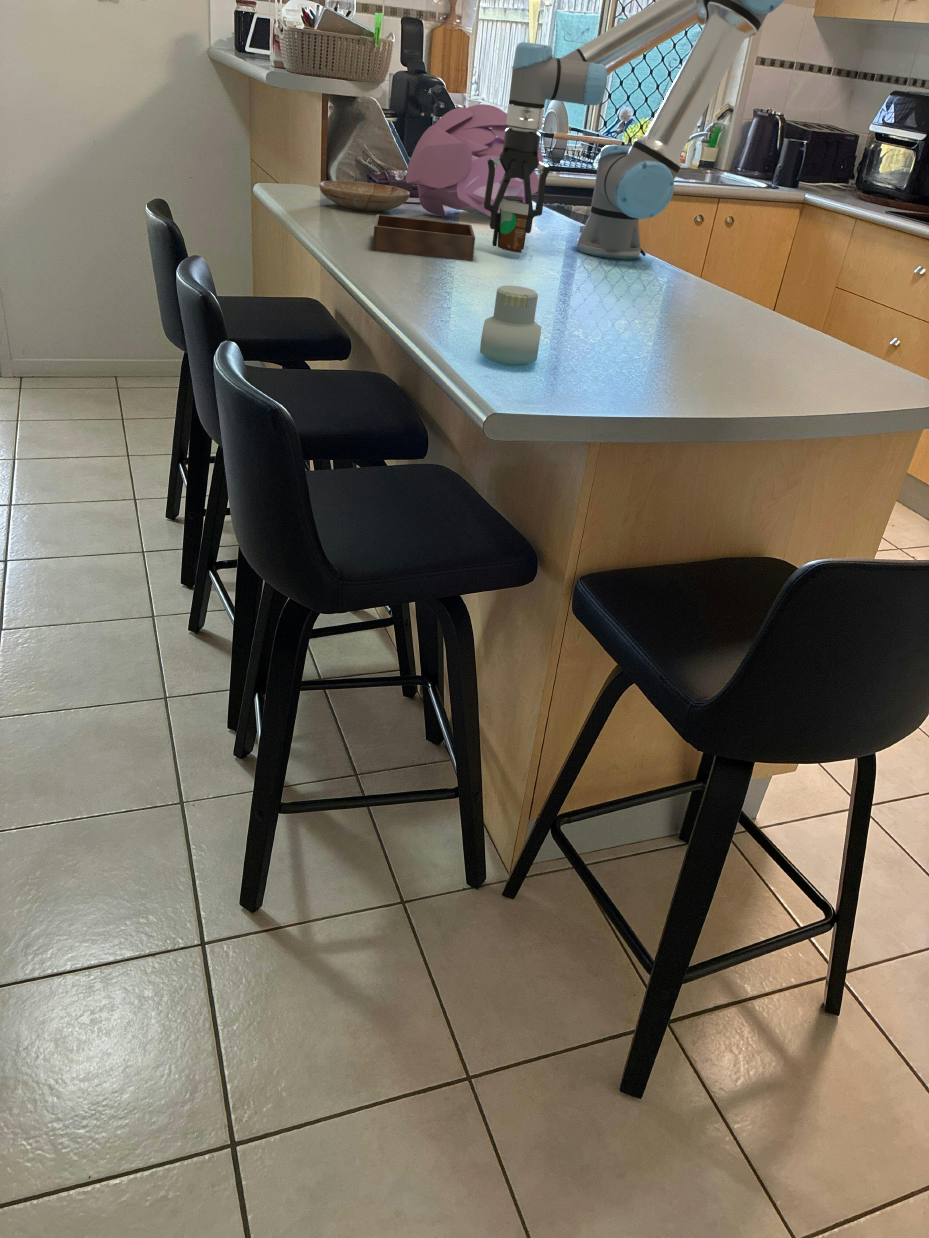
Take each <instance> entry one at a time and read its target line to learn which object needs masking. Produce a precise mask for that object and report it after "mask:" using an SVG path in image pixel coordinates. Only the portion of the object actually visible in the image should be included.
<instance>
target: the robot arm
mask: <svg viewBox="0 0 929 1238" xmlns="http://www.w3.org/2000/svg"><path fill="white" fill-rule="evenodd" d="M783 2H785V0H656V1H655V2H653V3H651V4H650V5H648V6H646V7H644V8H643V9H641V10H639V11H638V12H636V13H635V14H633V15H632V16H630V17H628V18H626V19H624V20H622V21H621V22H620V23H618V24H616V25H614V26H612V27H611V28H609V29H608V30H606V31H604V32H603V33H601V34H599V35H597V36H596V37H594V38H593V39H591V40H589V41H588V42H585V43H584V44H583V45H581V46H579V47H577V48H576V49H575V50H572V51H571V52H569V53H568V54H565V55H564V56H562V57H555V56H554V54H553V47H552V46H551V45H547V44H540V43H535V42H526V41H522V42H519V43H518V44H517V45H516V47H515V52H514V58H513V63H512V66H511V70H512V71H511V82H510V89H509V98H508V99H509V100H508V105H507V112H506V114H507V119H506V125H507V126H508V129H506V130H505V136H504V144H503V151H502V153H501V155H500V157H498V158H493V159H491V158H489V159H488V160H487V163H488V169H489V172H488V179H487V186H486V192H485V199H484V208H485V209H486V210H488V211H490V212H491V217H490V218H489V219H490V220H489V229H490V230H493V236H492V243H491V244H492V247H497V248H498V231H499V223H500V213H497V212H498V209H499V205H500V202H502V198H503V197H504V194H505V191H506V189H507V186H508V184H509V182H510V180H511V178H519V179H523V183H524V194H525V201H526V204H529V209H528V215H527V221H526V227H525V233H524V240H523V246H522V251H524V249H525V244H526V234H531V232H532V227H533V221H534V218H535V217H538V216H539V217H541V216H542V215H543V211H544V210H543V209H544V202H545V191H546V183H547V177H548V176H549V173H550V171H551V168H550V166H549V165H548V164H542V163H540V162H539V159H538V150H539V146H540V141H541V133H540V132H539V131H541V130H542V126H543V118H544V111H545V105H546V100H549V101H558V102H563V103H568V104H569V103H570V104H578V105H583V106H598V105H600V104H601V103H602V101H603V99H604V97H605V93H606V90H607V85H608V75H609V74H611V73H613V72H615V71H616V70H618V69H621V68H622V67H623V66H625V65H626V64H629V63H630V62H631V61H634V60H636V59H638V57H640V56H642V55H644V54H646V53H647V52H649V51H650V50H653V49H654V48H656V47H658V46H659V45H661V44H663V43H664V42H667V41H668V40H669V39H671V38H673V37H676V36H677V35H678V34H680V33H682V32H684V31H685V30H687V29H689V28H690V27H692V26H693V25H695V24H696V25H698V26H703V27H702V29H701V31H700V33H699V35H698V37H697V39H696V40H695V42H694V45H693V46H692V48H691V49H690V52H689V53H688V56H687V58H686V59H685V61H684V63H683V65H682V66H681V68H680V70H679V72H678V73H677V76H676V78H675V79H674V81H673V83H672V85H671V87H670V88H669V90H668V92H667V93H666V96H665V98H664V100H663V102H662V104H661V105H660V107H659V109H658V111H657V113H656V114H655V117H654V118H653V121H652V122H651V124H650V125H649V128H648V130H647V132H646V133H645V134H644V135H642V136H640V137H637V138H635V139H634V141H633V142H632V145H615V144H612V145H611V144H609V145H604V147H602V148H601V150H600V154H599V158H598V160H597V170H596V175H595V181H594V187H593V188H594V189H593V194H592V199H591V200H592V201H591V206H590V211H589V216H588V218H587V220H586V222H585V223H584V224H585V225H580V226H579V233H580V235H579V237H578V239H577V243H576V250H577V251H579V252H581V253H584V254H586V255H590V256H595V257H599V258H604V259H611V260H612V259H613V260H624V261H625V260H627V261H629V260H632V261H633V260H637V259H640V255H642V256H643V257H645V256H646V255H647V253H646V252H645V251H644V250H643V249H642V247H641V237H640V228H639V220H647V219H651V218H653V217H656V216H658V215H659V214H661V213H662V212H663V211H664V210H665V209H666V208H667V207H668V205H669V204H670V202H671V201H672V198H673V196H674V191H675V182H674V181H675V179H676V177H677V175H678V174H679V172H680V170H681V168H682V161H681V154H682V152H683V150H684V148H685V146H686V145H687V143H688V142H689V140H690V138H691V136H692V134H693V132H694V131H695V129H696V127H697V125H698V124H699V122H700V120H701V118H702V116H703V114H704V113H705V111H706V110H707V108H708V106H709V104H710V102H711V100H712V99H713V97H714V95H715V93H716V91H717V90H718V88H719V86H720V84H721V83H722V81H723V79H724V77H725V76H726V74H727V71H728V70H729V68H730V67H731V65H732V63H733V61H734V59H735V58H736V56H737V54H738V52H739V50H740V49H741V47H742V45H743V43H744V41H745V40H746V39H748V38H750V37H753V36H756V35H757V34H758V31H760V29H761V27H762V25H763V23H764V21H765V19H766V18H767V17H768V14H770V13H773V12H774V11H776V10H777V8H779V7H780V6H781V5H782V4H783ZM499 163H501V164H502V167H503V169H504V171H505V174H504V177H503V180H502V183H501V185H500V188H499V190H498V193H497V195H496V198H495V201H494V203H493V205H491V204H490V203H491V196H492V190H493V183H494V176H495V169H497V168H498V164H499ZM537 167H538V168H537ZM536 169H538V170H537V173H538V175H539V177H538V182H539V184H538V191H537V192H536V193H537V194H536V202H535V209H534V205H533V197H532V194H531V187H530V175H531V174H532V172H533V171H534V170H535V171H536Z"/></svg>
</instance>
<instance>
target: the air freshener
mask: <svg viewBox="0 0 929 1238" xmlns="http://www.w3.org/2000/svg"><path fill="white" fill-rule="evenodd" d="M538 297H539V295H538V292H537V291H536V290H534V289H531V288H529V287H525V286H519V285H501V286H499V287H498V288H497V289H496V295H495V303H494V310H493V315H492V316H489V317H486V318H485V319H484V322H483V326H482V330H481V337H480V346H479V347H480V348H479V352H480V353H481V354H482V356H484V357H486V359H488V360H490V361H491V362H494V363H498V364H502V365H507V366H526V365H529V364H531V363H534V362H536V361H537V360H538V354H539V349H540V341H541V333H542V326H541V325H540V324H539V323H538V322H536V321H535V320H536V319H535V318H536V313H537V312H536V311H537V304H538Z"/></svg>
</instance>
